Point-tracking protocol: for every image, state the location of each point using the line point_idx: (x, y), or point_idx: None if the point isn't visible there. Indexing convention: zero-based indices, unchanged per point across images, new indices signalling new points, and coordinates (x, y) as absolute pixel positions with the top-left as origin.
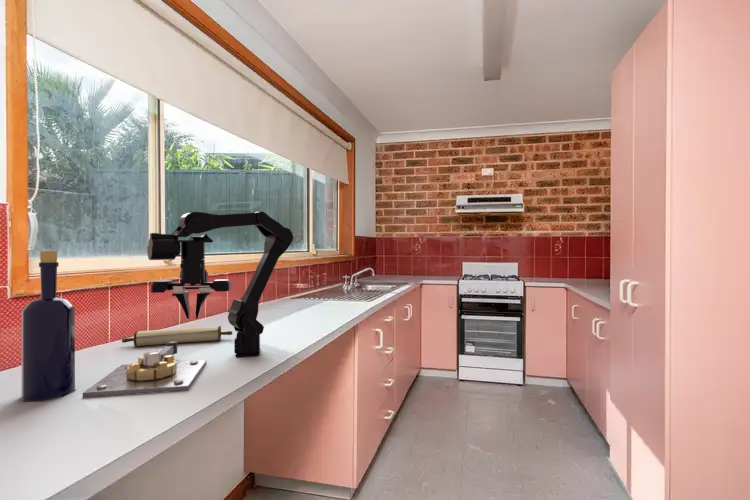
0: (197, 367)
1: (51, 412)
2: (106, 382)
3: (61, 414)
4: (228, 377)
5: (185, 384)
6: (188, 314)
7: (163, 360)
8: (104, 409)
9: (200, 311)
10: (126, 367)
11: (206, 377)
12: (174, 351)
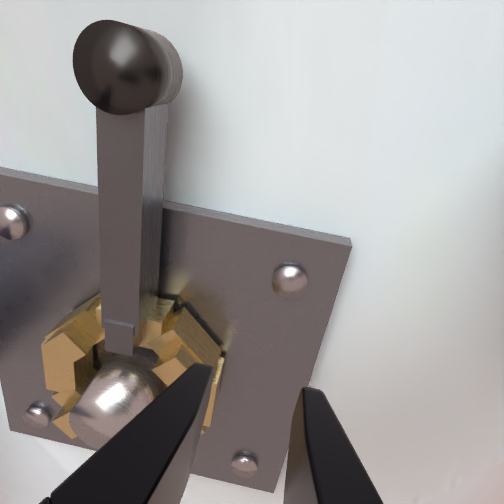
0: (304, 346)
1: (6, 467)
2: (26, 377)
3: (33, 483)
4: (406, 436)
5: (265, 482)
6: (192, 463)
7: (156, 348)
8: None
9: (359, 467)
10: (6, 236)
11: (332, 407)
12: (165, 103)
